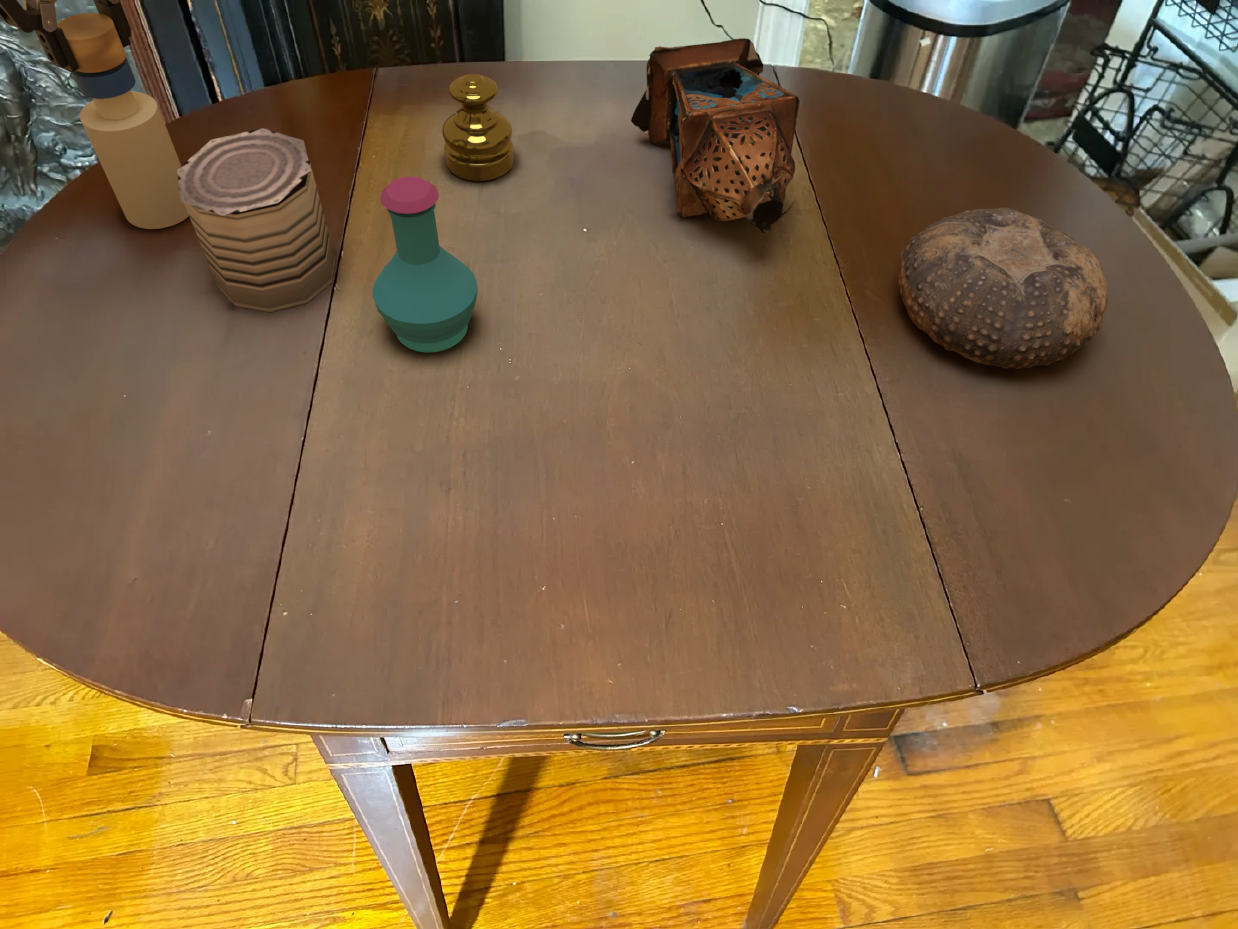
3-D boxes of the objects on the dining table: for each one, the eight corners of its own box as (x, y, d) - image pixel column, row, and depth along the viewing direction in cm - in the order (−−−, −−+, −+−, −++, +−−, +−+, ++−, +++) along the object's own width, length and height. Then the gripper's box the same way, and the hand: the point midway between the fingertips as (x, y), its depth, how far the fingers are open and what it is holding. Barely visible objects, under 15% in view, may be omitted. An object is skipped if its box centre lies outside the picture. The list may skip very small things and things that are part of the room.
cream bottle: (155, 237, 91) (90, 92, 79) (111, 212, 93) (41, 67, 81) (209, 204, 94) (155, 60, 82) (165, 181, 97) (106, 37, 84)
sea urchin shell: (1065, 412, 80) (1095, 323, 73) (862, 355, 88) (869, 269, 81) (1118, 292, 90) (1148, 202, 82) (930, 250, 98) (942, 166, 91)
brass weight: (498, 189, 98) (491, 102, 90) (435, 174, 99) (423, 88, 91) (523, 152, 102) (519, 67, 94) (462, 138, 104) (453, 53, 96)
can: (350, 295, 87) (322, 187, 77) (227, 325, 84) (183, 217, 74) (322, 225, 93) (294, 118, 84) (207, 251, 90) (164, 142, 80)
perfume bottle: (363, 348, 82) (328, 209, 71) (407, 285, 88) (381, 146, 76) (457, 372, 81) (437, 235, 69) (496, 306, 86) (484, 169, 75)
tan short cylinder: (91, 78, 79) (76, 45, 77) (56, 61, 81) (41, 27, 78) (137, 56, 82) (124, 23, 79) (103, 40, 83) (89, 7, 81)
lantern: (676, 181, 111) (748, 309, 95) (592, 93, 99) (658, 221, 84) (784, 86, 105) (880, 205, 89) (708, -19, 94) (802, 96, 78)
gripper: (53, -202, 73) (135, 13, 86) (-124, -152, 65) (-5, 75, 78) (115, -181, 70) (188, 37, 84) (-62, -126, 63) (50, 104, 76)
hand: (95, 54), depth 81 cm, fingers closed on tan short cylinder, 4 cm apart
